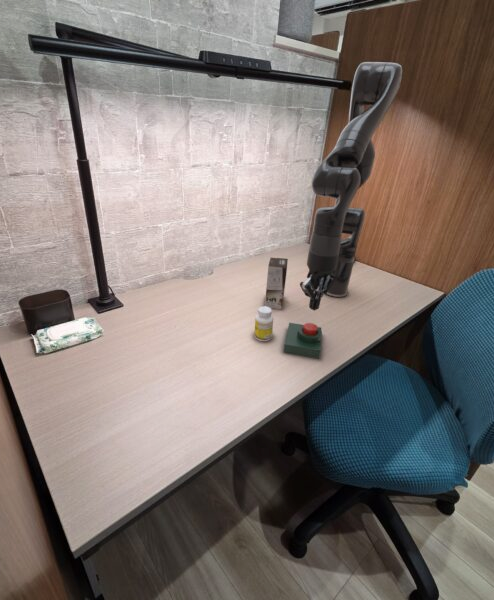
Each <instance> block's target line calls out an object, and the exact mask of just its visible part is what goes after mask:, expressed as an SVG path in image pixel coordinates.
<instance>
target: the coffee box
mask: <svg viewBox="0 0 494 600" xmlns="http://www.w3.org/2000/svg"><path fill="white" fill-rule="evenodd" d="M288 260H289V259H288V258H284V257H270V258H269V262H268V265H267V275H266V276H267V279H266V287H265V300H264V306H267V307H270V308H271V309H276V310H282V307H283V303H284V298H285V297H284V295H285V291H286V290H285V289H286V281H287V273H288Z"/></svg>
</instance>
